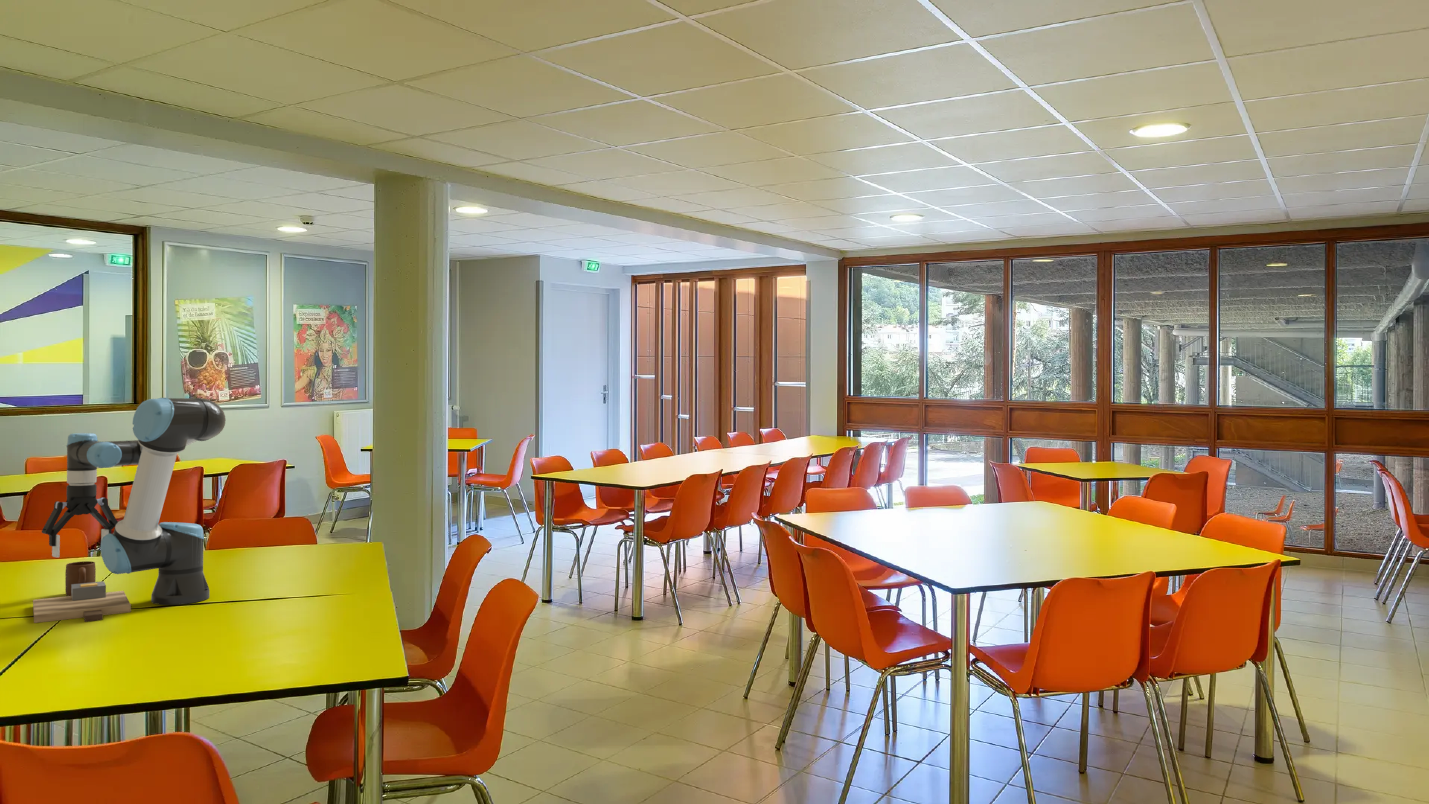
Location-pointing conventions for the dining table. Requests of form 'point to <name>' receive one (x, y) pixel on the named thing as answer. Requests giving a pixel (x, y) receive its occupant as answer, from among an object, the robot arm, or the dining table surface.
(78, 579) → the mug
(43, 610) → the board
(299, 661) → the dining table surface
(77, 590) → the grey rectangular block
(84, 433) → the robot arm
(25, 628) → the dining table surface
